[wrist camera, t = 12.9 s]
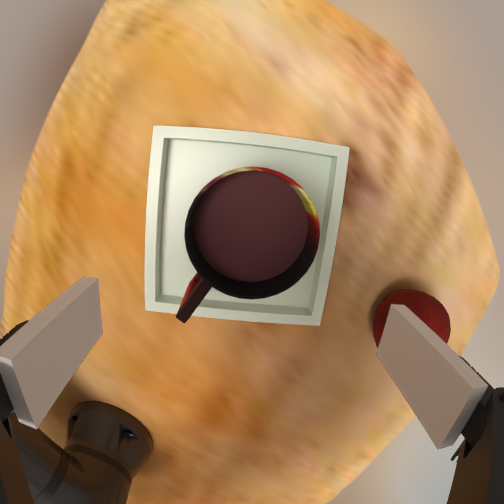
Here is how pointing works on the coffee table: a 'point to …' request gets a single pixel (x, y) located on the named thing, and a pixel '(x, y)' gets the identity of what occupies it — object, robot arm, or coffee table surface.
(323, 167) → the tray
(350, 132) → the coffee table surface
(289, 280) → the mug
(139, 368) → the coffee table surface
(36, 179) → the coffee table surface
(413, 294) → the apple
